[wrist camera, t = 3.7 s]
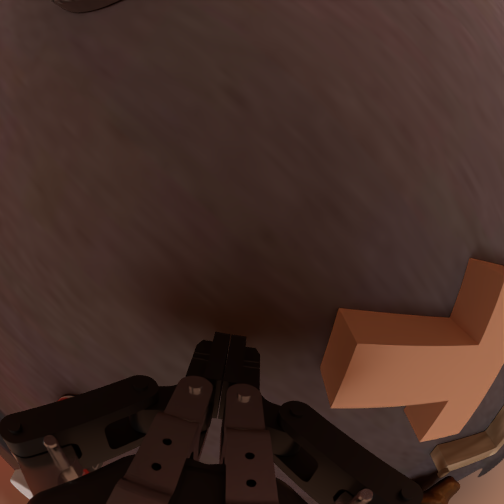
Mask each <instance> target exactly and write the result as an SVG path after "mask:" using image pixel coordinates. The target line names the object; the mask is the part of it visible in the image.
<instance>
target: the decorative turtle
mask: <svg viewBox="0 0 504 504" xmlns="http://www.w3.org/2000/svg"><path fill="white" fill-rule="evenodd" d="M459 489H460V484H459V483H458V482H457V481H456V480H455V479H454V478H453V477H451V476H447V477H445V478H444V479H442V480H440V481H439V482H437V483H436V484H435V485H433V486H432V487H430V488H429V489H427V490H425V491H424V492H423V500H422V502H421V503H420V504H448V501H449V500H450V498H451V497H452V496H453V495H454V494H455V493H456V492H457V491H458V490H459Z"/></svg>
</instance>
